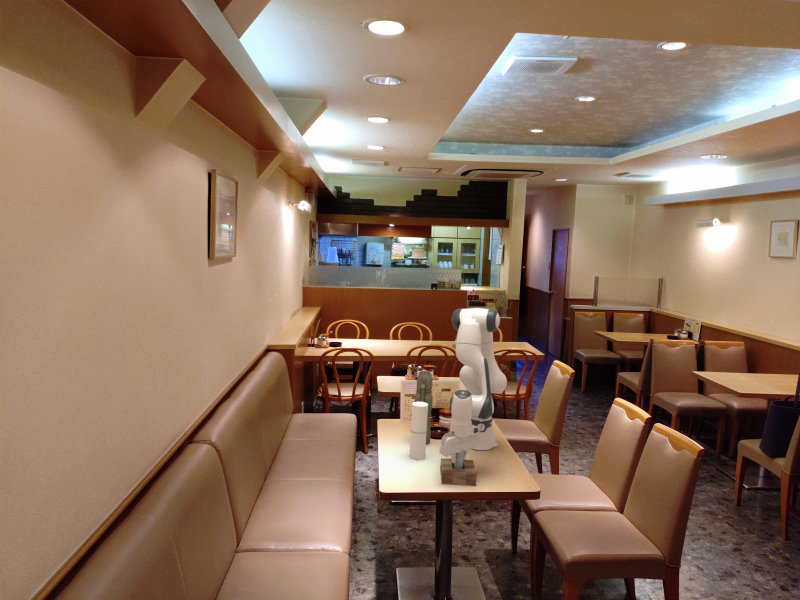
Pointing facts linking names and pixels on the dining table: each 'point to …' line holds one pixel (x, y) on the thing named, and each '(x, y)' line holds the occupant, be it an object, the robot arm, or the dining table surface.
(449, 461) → the socket block
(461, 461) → the peg
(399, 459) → the dining table surface
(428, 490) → the dining table surface
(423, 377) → the thermos
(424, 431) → the cylindrical container
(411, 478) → the dining table surface
